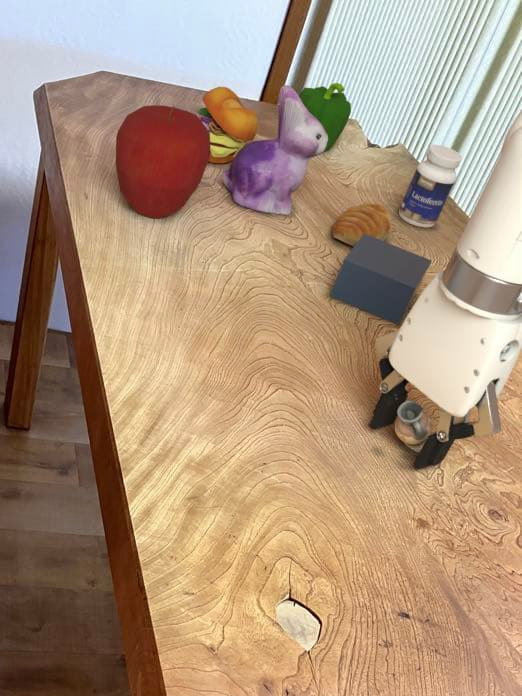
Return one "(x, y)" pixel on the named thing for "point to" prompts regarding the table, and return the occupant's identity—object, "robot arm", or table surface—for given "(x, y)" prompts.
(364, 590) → the table surface
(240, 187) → the figurine
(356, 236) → the pastry
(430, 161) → the pill bottle
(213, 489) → the table surface
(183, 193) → the apple
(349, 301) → the block
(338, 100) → the bell pepper
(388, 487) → the table surface
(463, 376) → the robot arm
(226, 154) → the cheeseburger
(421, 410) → the vase
